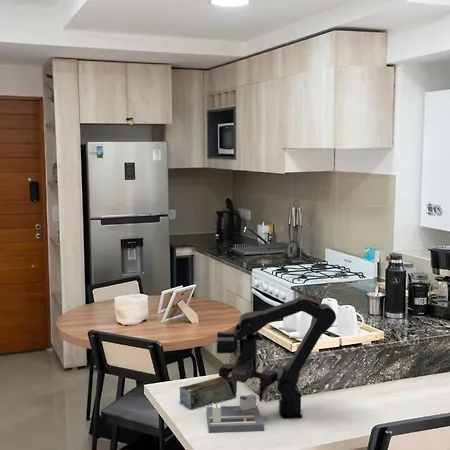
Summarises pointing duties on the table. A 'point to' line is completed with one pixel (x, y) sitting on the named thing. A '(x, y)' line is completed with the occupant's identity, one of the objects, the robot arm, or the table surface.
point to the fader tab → (216, 413)
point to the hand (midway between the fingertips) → (247, 399)
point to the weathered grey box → (205, 393)
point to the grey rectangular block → (247, 402)
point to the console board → (236, 420)
